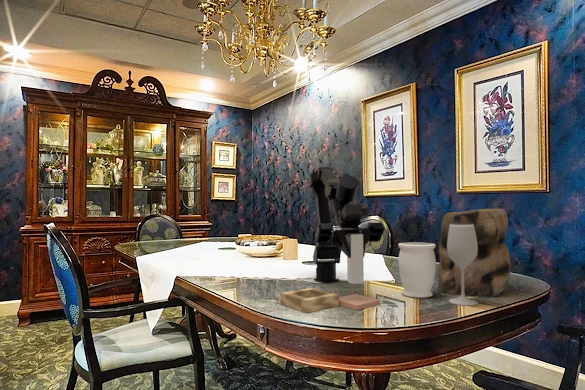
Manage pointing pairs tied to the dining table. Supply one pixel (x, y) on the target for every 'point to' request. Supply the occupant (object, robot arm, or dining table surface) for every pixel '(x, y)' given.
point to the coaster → (358, 301)
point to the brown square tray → (309, 299)
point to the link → (355, 259)
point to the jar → (417, 268)
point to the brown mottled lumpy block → (490, 257)
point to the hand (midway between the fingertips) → (356, 256)
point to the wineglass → (462, 254)
